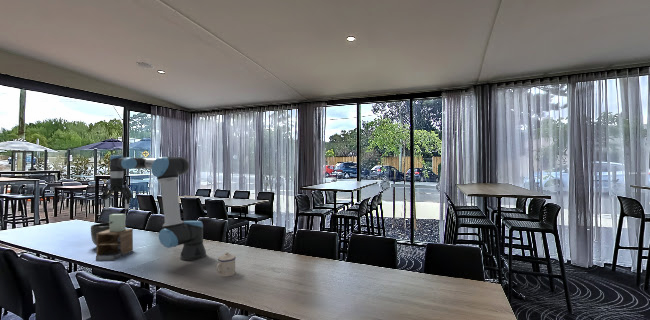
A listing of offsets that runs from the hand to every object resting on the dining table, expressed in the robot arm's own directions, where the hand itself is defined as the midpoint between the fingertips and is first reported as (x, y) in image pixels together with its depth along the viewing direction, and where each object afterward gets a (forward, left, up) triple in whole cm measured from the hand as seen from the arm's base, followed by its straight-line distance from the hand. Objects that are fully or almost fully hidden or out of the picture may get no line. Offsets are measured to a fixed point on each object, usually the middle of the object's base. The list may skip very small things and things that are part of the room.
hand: (117, 208), depth 202 cm
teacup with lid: (-87, +41, -30) cm, 101 cm away
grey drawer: (-3, +12, -30) cm, 32 cm away
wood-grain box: (+1, +1, -30) cm, 30 cm away
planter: (+20, -16, -30) cm, 39 cm away
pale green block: (0, 0, -15) cm, 15 cm away
